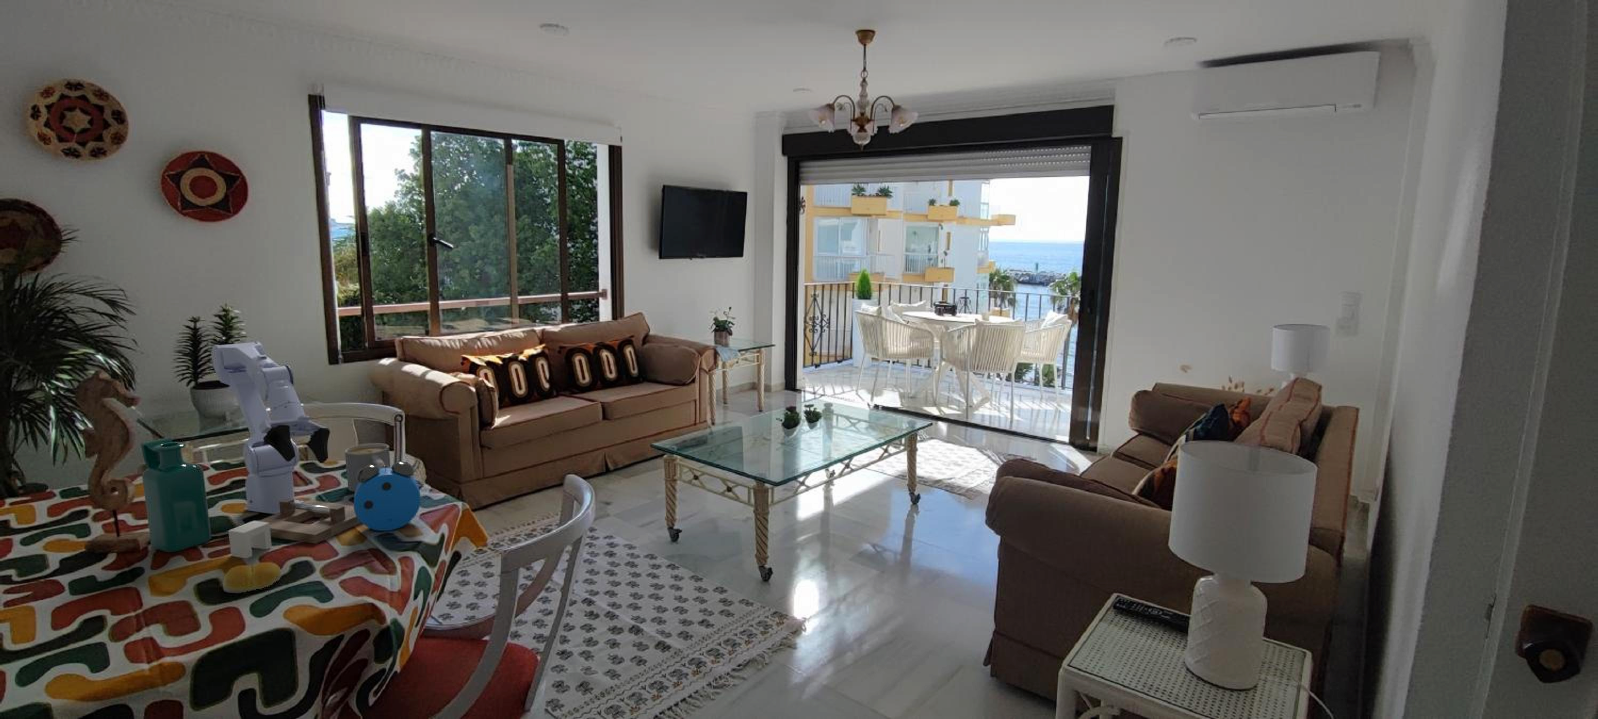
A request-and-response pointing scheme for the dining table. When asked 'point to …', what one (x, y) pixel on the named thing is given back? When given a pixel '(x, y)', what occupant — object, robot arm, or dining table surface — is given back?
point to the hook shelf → (292, 529)
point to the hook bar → (309, 507)
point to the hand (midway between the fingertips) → (307, 459)
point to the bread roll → (251, 577)
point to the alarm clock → (386, 496)
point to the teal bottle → (174, 497)
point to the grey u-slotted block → (244, 533)
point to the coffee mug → (365, 460)
